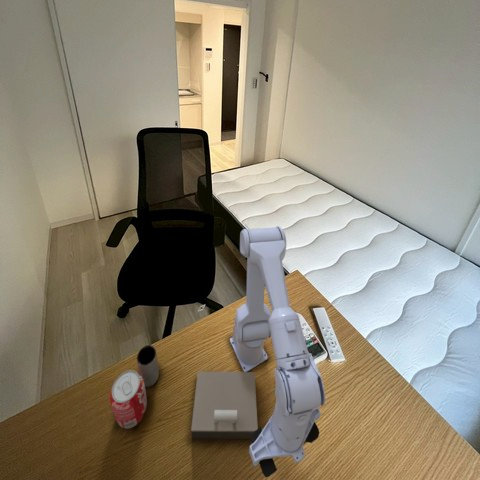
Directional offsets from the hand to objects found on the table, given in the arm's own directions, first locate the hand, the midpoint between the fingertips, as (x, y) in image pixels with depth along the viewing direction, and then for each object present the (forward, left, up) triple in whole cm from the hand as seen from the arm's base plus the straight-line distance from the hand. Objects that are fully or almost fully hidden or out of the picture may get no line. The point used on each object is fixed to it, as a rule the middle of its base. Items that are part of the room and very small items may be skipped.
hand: (280, 452), depth 47 cm
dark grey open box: (-14, -5, -11) cm, 18 cm away
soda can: (-24, -25, -11) cm, 36 cm away
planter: (-29, -20, -11) cm, 37 cm away
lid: (-14, -5, -5) cm, 16 cm away
